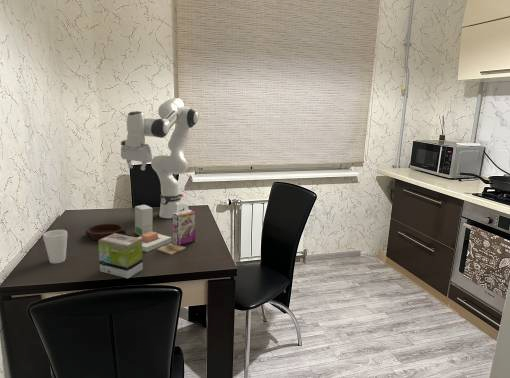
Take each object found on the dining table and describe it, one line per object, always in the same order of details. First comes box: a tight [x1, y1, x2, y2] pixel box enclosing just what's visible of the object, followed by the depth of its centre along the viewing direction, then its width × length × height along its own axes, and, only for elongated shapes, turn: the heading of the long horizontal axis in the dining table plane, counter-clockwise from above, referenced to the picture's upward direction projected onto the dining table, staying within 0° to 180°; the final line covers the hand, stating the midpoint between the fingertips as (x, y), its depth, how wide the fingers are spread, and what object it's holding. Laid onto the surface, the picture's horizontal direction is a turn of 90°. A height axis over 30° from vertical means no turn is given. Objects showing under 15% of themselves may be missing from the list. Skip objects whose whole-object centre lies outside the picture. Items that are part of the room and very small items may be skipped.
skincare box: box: [134, 204, 153, 237], centre depth 199 cm, size 8×7×16 cm
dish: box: [84, 223, 127, 241], centre depth 194 cm, size 18×22×5 cm
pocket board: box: [137, 233, 173, 253], centre depth 186 cm, size 17×14×2 cm
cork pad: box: [156, 242, 187, 255], centre depth 180 cm, size 10×10×1 cm
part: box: [141, 230, 159, 243], centre depth 185 cm, size 7×4×6 cm, turn 149°
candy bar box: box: [172, 209, 197, 246], centre depth 188 cm, size 11×5×16 cm, turn 135°
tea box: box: [97, 233, 144, 279], centre depth 153 cm, size 15×10×15 cm, turn 69°
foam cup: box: [42, 229, 68, 264], centre depth 161 cm, size 10×9×13 cm
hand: (136, 169), depth 192 cm, fingers open, 8 cm apart
